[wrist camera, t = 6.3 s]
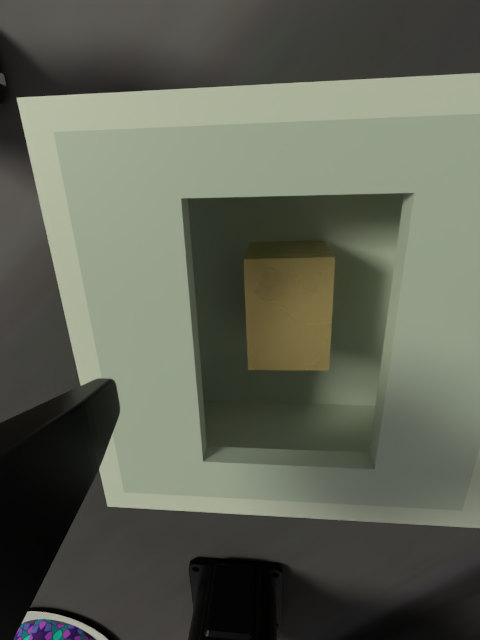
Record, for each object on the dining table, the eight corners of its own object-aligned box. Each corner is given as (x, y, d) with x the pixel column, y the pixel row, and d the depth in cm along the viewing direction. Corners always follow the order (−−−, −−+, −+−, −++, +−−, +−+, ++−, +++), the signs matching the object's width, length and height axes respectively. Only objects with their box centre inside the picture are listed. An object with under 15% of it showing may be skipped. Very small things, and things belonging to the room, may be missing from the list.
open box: (412, 410, 19) (481, 528, 13) (159, 403, 21) (107, 506, 14) (466, 114, 14) (625, 65, 8) (123, 129, 16) (16, 97, 9)
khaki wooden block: (319, 334, 17) (328, 370, 14) (252, 334, 18) (248, 370, 14) (322, 240, 16) (335, 256, 13) (249, 242, 16) (243, 259, 13)
